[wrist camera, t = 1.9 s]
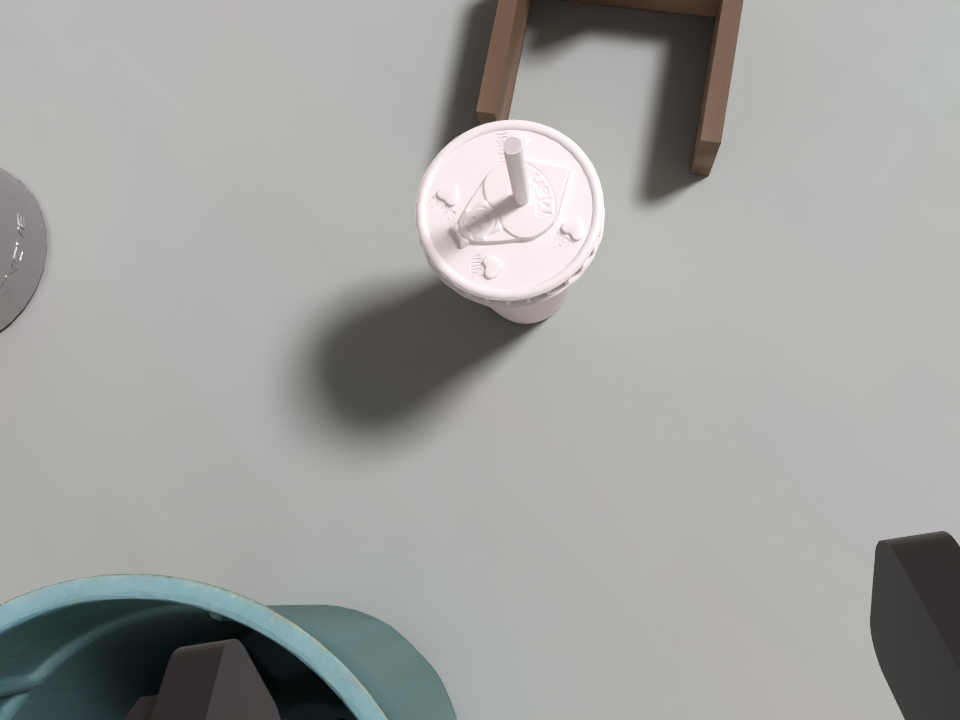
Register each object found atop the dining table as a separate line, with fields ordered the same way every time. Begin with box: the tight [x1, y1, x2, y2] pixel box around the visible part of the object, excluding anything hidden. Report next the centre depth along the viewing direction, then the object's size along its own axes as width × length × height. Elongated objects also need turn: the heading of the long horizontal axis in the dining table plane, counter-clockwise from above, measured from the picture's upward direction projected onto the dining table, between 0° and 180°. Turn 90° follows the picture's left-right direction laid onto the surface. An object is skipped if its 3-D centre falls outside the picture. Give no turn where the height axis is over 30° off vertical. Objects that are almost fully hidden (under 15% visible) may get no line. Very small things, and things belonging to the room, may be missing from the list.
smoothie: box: [416, 120, 605, 324], centre depth 32 cm, size 6×6×14 cm
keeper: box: [476, 0, 743, 176], centre depth 37 cm, size 10×9×6 cm
